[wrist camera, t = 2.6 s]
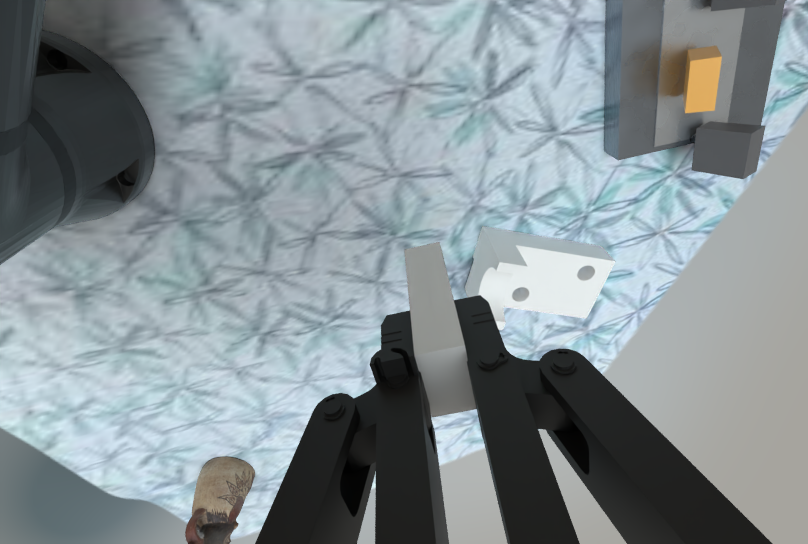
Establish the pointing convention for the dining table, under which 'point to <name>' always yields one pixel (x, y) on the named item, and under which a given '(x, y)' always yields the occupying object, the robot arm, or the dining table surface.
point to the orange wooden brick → (701, 79)
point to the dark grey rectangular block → (741, 4)
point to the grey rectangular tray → (681, 69)
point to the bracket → (536, 273)
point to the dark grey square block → (727, 149)
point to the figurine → (218, 500)
